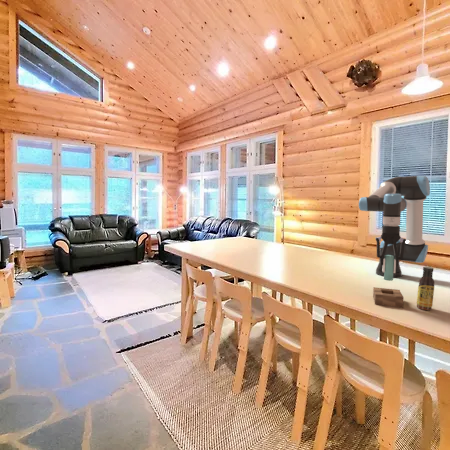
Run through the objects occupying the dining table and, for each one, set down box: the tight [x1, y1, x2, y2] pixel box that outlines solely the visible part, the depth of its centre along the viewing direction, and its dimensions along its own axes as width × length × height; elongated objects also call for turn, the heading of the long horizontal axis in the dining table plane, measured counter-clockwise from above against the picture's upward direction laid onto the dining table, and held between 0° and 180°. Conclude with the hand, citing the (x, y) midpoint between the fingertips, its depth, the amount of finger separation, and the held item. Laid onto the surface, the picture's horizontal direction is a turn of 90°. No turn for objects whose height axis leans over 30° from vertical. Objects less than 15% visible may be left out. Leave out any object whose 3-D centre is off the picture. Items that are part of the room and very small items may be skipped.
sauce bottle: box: [416, 266, 435, 311], centre depth 143 cm, size 7×6×20 cm
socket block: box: [372, 287, 404, 308], centre depth 153 cm, size 12×12×5 cm
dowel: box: [383, 255, 394, 282], centre depth 151 cm, size 4×4×12 cm
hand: (388, 271), depth 152 cm, fingers closed on dowel, 4 cm apart
